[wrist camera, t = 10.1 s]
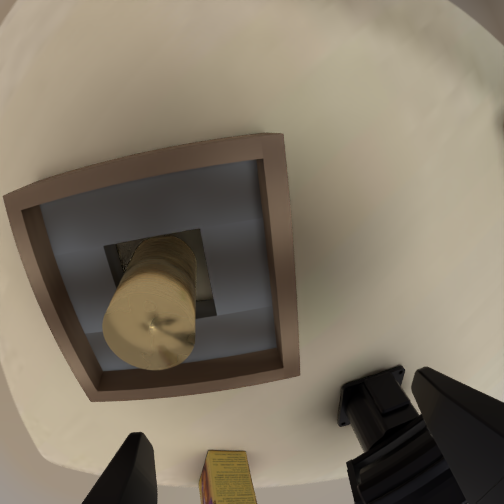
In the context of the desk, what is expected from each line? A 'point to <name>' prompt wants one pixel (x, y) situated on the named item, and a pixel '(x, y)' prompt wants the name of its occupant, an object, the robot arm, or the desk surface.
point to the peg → (154, 306)
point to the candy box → (226, 479)
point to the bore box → (159, 223)
